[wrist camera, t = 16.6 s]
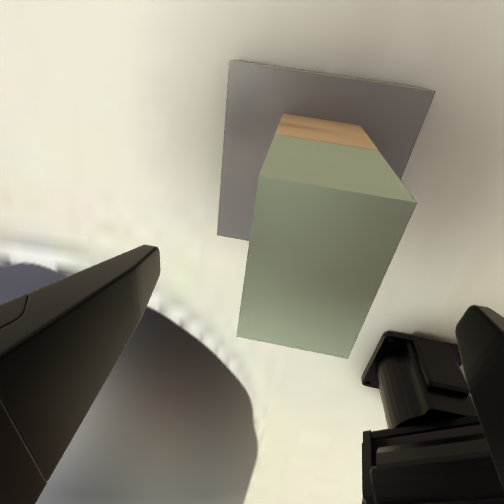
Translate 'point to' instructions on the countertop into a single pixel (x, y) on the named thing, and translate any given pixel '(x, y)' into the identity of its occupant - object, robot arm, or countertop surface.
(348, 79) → the grey baseplate
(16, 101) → the countertop surface
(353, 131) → the oak brick
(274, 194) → the sage brick
